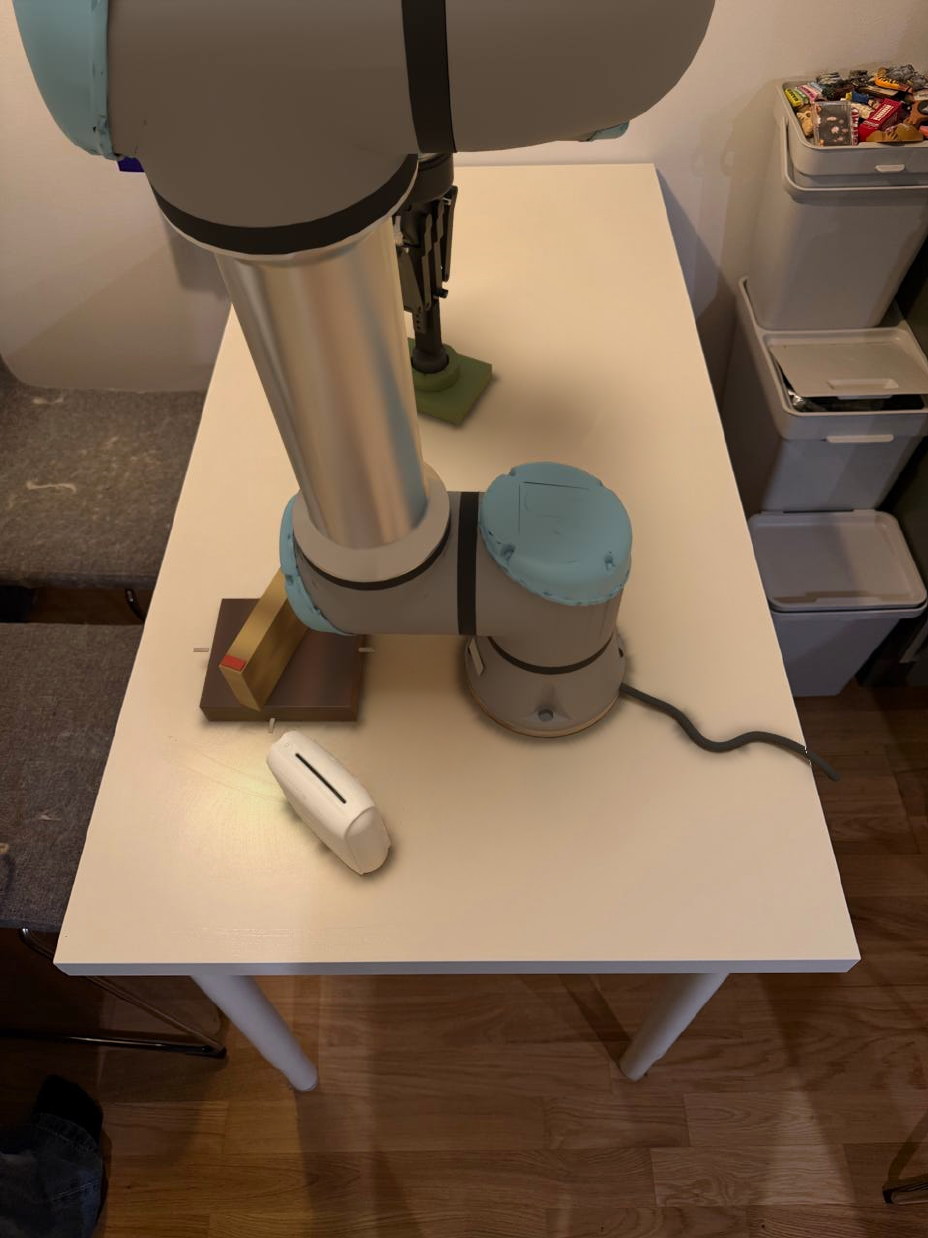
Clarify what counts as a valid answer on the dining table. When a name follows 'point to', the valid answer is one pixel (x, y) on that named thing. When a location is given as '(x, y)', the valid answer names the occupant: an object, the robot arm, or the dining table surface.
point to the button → (429, 361)
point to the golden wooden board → (263, 646)
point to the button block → (450, 385)
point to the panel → (287, 675)
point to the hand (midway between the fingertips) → (429, 347)
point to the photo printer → (330, 801)
